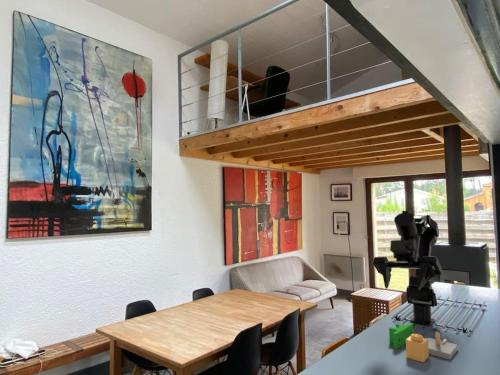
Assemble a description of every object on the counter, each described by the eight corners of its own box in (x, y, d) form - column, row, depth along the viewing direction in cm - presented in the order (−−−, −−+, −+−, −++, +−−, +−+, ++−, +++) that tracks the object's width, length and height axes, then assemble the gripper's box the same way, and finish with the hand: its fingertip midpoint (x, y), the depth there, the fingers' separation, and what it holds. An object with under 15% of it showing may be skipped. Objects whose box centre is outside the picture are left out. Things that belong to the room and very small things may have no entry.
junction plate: (428, 341, 104) (427, 325, 104) (458, 349, 99) (457, 331, 99) (418, 351, 98) (417, 333, 98) (450, 359, 92) (449, 340, 93)
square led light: (412, 352, 97) (411, 331, 98) (428, 356, 94) (427, 335, 95) (406, 357, 94) (405, 336, 94) (423, 362, 91) (422, 340, 91)
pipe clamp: (401, 335, 110) (401, 321, 110) (413, 339, 107) (413, 324, 107) (384, 345, 103) (384, 330, 103) (397, 349, 100) (396, 333, 100)
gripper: (371, 232, 112) (360, 270, 103) (432, 228, 100) (427, 272, 90) (383, 253, 117) (374, 292, 107) (443, 252, 105) (439, 296, 95)
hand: (401, 288), depth 100 cm, fingers open, 9 cm apart
